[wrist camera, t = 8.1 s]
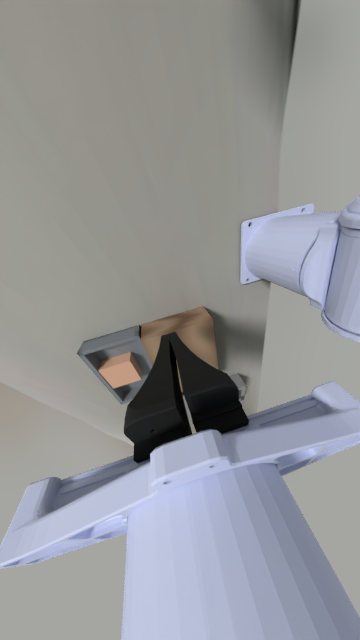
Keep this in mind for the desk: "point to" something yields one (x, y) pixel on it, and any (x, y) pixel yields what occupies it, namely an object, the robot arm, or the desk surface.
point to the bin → (115, 346)
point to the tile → (120, 370)
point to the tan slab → (183, 334)
